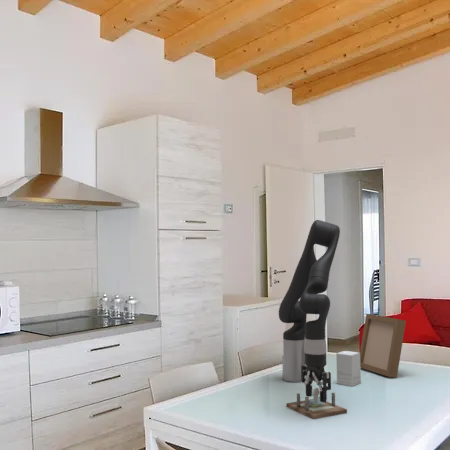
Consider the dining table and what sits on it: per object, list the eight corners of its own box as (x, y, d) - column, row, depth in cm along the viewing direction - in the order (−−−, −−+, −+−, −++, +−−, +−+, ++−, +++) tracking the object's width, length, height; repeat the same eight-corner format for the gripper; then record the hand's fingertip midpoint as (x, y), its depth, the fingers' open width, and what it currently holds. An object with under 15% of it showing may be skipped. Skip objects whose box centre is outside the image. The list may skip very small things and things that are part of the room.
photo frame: (388, 379, 234) (387, 319, 235) (357, 368, 254) (356, 314, 255) (416, 375, 240) (414, 317, 241) (383, 365, 260) (382, 312, 261)
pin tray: (286, 406, 195) (286, 390, 195) (318, 401, 201) (318, 385, 201) (313, 419, 180) (313, 402, 181) (347, 413, 187) (346, 396, 187)
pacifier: (300, 406, 191) (314, 409, 187) (299, 387, 191) (313, 390, 187) (313, 401, 196) (327, 404, 192) (312, 384, 196) (326, 386, 192)
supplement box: (361, 383, 227) (360, 352, 227) (352, 386, 222) (351, 355, 222) (345, 380, 232) (345, 350, 232) (336, 383, 227) (335, 352, 227)
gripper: (337, 353, 187) (337, 402, 186) (311, 347, 200) (312, 392, 199) (319, 356, 183) (319, 405, 183) (294, 349, 196) (295, 395, 195)
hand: (315, 398), depth 191 cm, fingers open, 7 cm apart
